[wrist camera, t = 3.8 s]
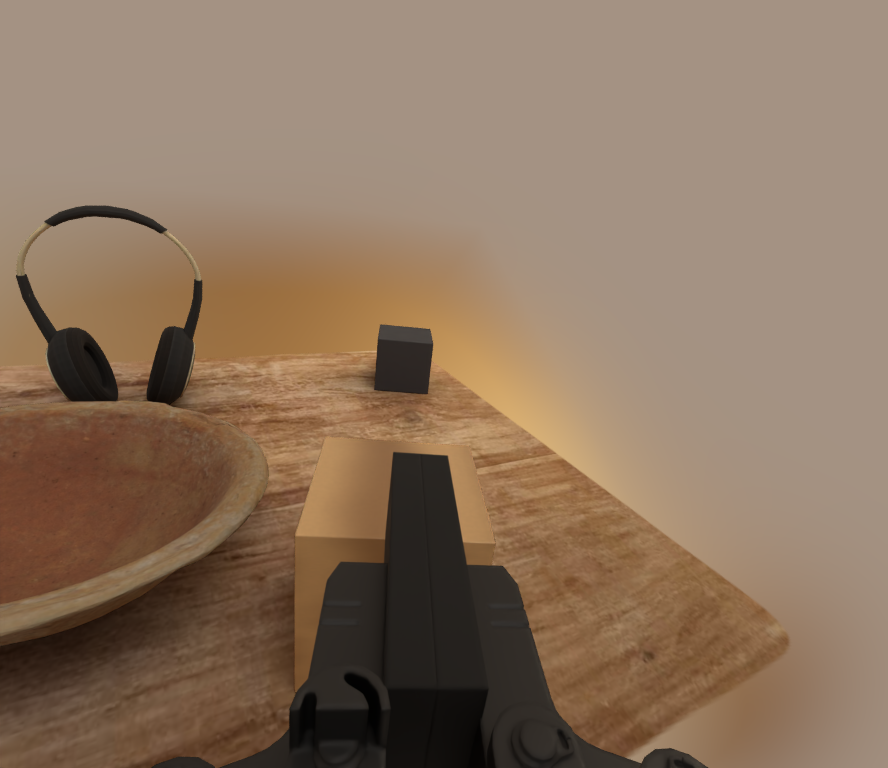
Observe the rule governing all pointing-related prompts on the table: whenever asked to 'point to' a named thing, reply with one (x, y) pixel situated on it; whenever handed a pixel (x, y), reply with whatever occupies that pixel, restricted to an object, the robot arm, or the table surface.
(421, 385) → the block
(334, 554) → the push block
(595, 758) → the robot arm
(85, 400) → the headphones
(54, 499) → the bowl
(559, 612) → the table surface
